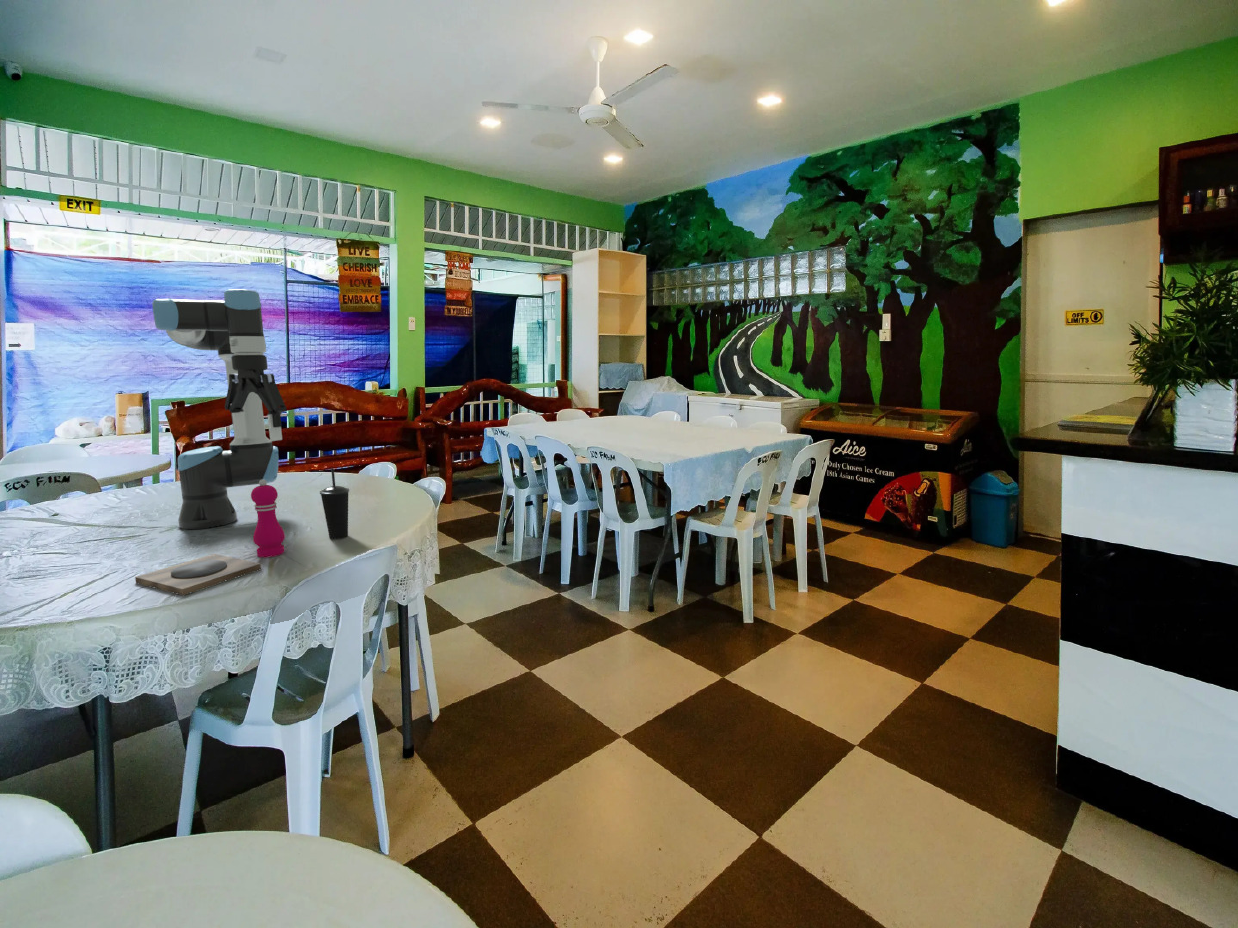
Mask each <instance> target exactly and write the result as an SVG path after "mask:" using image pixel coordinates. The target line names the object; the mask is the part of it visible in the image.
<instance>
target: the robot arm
mask: <svg viewBox="0 0 1238 928" xmlns="http://www.w3.org/2000/svg"><path fill="white" fill-rule="evenodd" d="M223 295H224V297H223V298H224V300H208V299H206V300H205V299H202V300H200V299H199V300H198V299H180V298H179V299H177V298H156V299H153V300H152V304H151V305H152V312H153V313H152V315H153V319H154V325H155V328H156V329H157V330H160V331H165V332H166V333H167V336H168V337H169V338H170V339H171V340H172V341H173V342H175V343H177V344H178V345H181V346H182V347H187V348H190V349H193V350H200V351H217V353H218V358H220V359H221V360H222V361H223V362H224V364H225V372H226V380H227V387H228V388H227V393H226V398H225V403H224V409H225V410H226V411H227V410H228V411H229V412H230V413H231V419H232V420H231V421H232V428H233V435H234V437H233V440H231V442H230V443H229V450H223V448H222V447H221V445H220V446H219V445H216V446H215V445H214V446H206V447H199V448H196V449H192V450H187V451H185V452H182V453H181V454H179V455H178V457H177V471H178V474H179V482H180V484H179V485H180V491H181V498H182V503H181V508H180V512H179V515H178V527H179V528H180V529H184V530H202V529H210V528H209V527H211V528H215V527H214V526H217V527H220V526H219V525H222V526H224V525H230V524H231V523H234V522H235V521H238V514H237V512H236V509H235V507H234V506H233V503H232V502H231V500H230V498H229V496H228V488H235V487H244V486H254V485H255V486H256V485H258V486H260V484H259V481H260V480H262V479H264V480H266V481H267V484H270V483H273V482H275V481H276V480H277V478H278V473H279V447H278V446H275V445H273V442H275V441H282V440H283V434H282V433H283V432H282V417H281V414H282V413H284V412H286V411H287V406H286V405H285V402H284V400H283V398H282V395H281V392H280V391H279V387H278V386H277V384H276V383H277V382H276V380H275V379H276V378H275V375H274V373H265V372H264V371H266V370H268V361H267V360H268V358H267V356H266V355H265V354H264V353H266V352H267V344H266V338H265V334H264V327H263V326H264V325H263V315H262V313H263V312H262V303H261V299H260V298H261V297H260V294H259V292H258V291H256V290H252V289H242V288H241V289H239V288H237V289H231V288H230V289H226V290H225V291H224V294H223ZM263 405H264V407H265V408H266V409H267V411H268V412H267V424H268V432H269V438H268V437H267V436H266V428H265V427H266V426H265V420H264V418H265V417H264V409H263Z"/></svg>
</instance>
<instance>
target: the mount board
mask: <svg viewBox="0 0 1238 928" xmlns="http://www.w3.org/2000/svg"><path fill="white" fill-rule="evenodd" d="M259 569H261V570H262V565H261V563H259V562H254V561H251V560H245V559H240V558H235V557H231V556H227V555H222V554H217V553H213V554H209V555H205V556H202V557H199V558H195V559H192V560H191V559H190V560H189V561H185V562H183V563H179V564H175V565H171V566H167V567H165V568H161V569H157V570H154V571H150V572H147V573H144V574H140V575H137V576H135V577H134V579H135V584H137V583H139V584H138V585H141V584H142V585H141V586H145V587H149V586H151V587H150V588H152V587H155V588H154V589H156V588H157V589H156V590H160V589H161V591H165V592H168V593H171V592H174V593H173V594H175V593H178V594H177V595H179V594H181V595H180V596H183V595H184V596H186V595H185V594H187V595H189V594H188V593H190V592H193V593H195V592H198V591H197V590H199V591H201V590H200V589H202V590H204V589H203V588H205V589H207V588H206V587H208V588H210V587H209V586H211V587H213V586H217V585H219V584H221V583H220V582H222V583H224V582H223V581H225V580H228V581H231V580H234V579H236V578H235V577H237V578H239V577H238V576H240V577H242V576H241V575H243V576H245V575H244V574H246V575H248V574H251V573H254V571H255V572H258V571H260V570H259ZM257 570H258V571H257ZM233 578H234V579H233ZM230 579H231V580H230ZM225 582H226V581H225ZM218 583H219V584H218ZM190 594H191V593H190Z"/></svg>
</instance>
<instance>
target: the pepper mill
mask: <svg viewBox="0 0 1238 928" xmlns="http://www.w3.org/2000/svg"><path fill="white" fill-rule="evenodd" d="M259 484H260V485H259ZM259 484H258V486H254V488H253V489H252V491H251V492H250V499H251V500H252V502H253V503H254V506H253V507H254V510H255V512H256V513H257V523H256V526H255V530H254V532H253V536H252V537H253V543H254V544H255V545H256V546H257V548H256V554H257V557H259V558H273V557H277V556H281V555H282V554H284V553H285V545H284V544H282V543H283V542H284V541H285V538H286V534H285V531H284V529H283V527H282V526H281V525H280V523H279V521H278V519H277V514H276V509H277V502H276V500H277V499H278V497H279V495H278V494H279V493H278V490H277V489H276V488H275V487H274V486H273V485H270V484H268V483H267V481H266V480H264V479H262V480H260V481H259Z"/></svg>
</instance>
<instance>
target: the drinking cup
mask: <svg viewBox="0 0 1238 928" xmlns="http://www.w3.org/2000/svg"><path fill="white" fill-rule="evenodd" d="M330 472H331V482H332V485H330V486H328V487H325V488H324V489H321V490H320V491H319V495H320V496H321V501H322V507H323V512H324V517H325V522H326V527H327V532H328V538H329V539H330V540H341V539H345V538H347V537H349V492H350V489H349V488H348V487H345V486H341V485H336V477H335V468H333V467H332V468H330Z"/></svg>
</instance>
